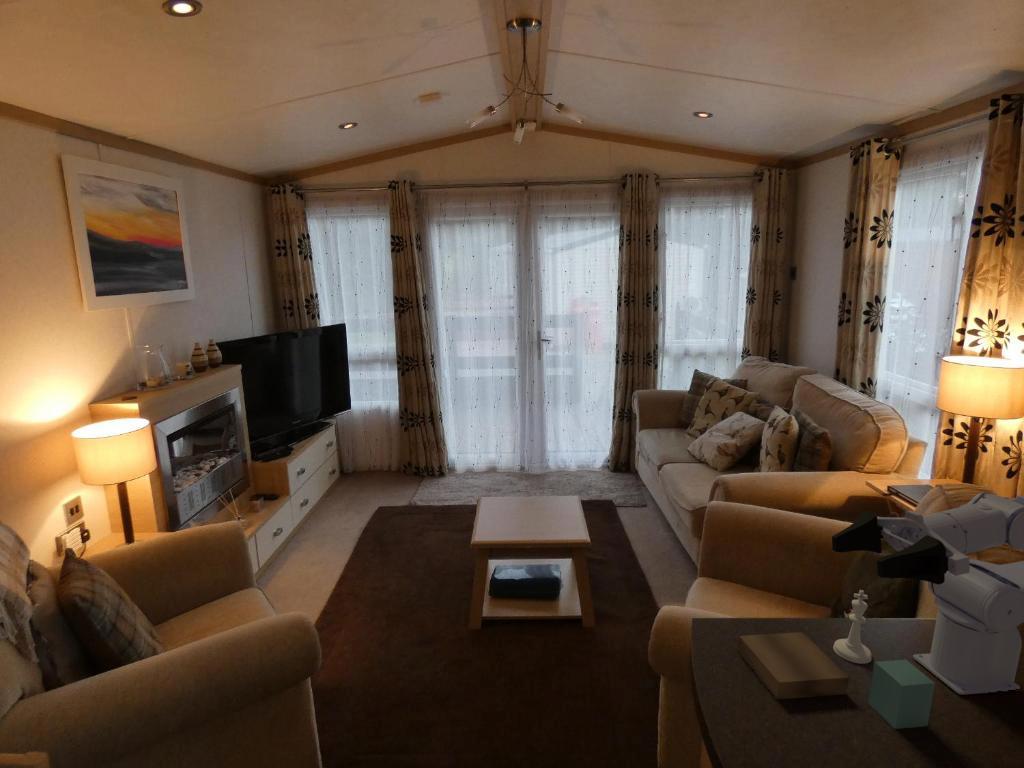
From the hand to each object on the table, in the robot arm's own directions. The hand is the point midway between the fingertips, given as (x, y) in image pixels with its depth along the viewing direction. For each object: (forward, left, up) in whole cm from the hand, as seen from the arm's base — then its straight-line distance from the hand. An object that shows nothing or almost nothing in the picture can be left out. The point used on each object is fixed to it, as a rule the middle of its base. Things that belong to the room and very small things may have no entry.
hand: (855, 555), depth 75 cm
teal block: (-5, +5, -19) cm, 21 cm away
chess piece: (-8, -7, -20) cm, 22 cm away
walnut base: (+4, -4, -19) cm, 20 cm away
